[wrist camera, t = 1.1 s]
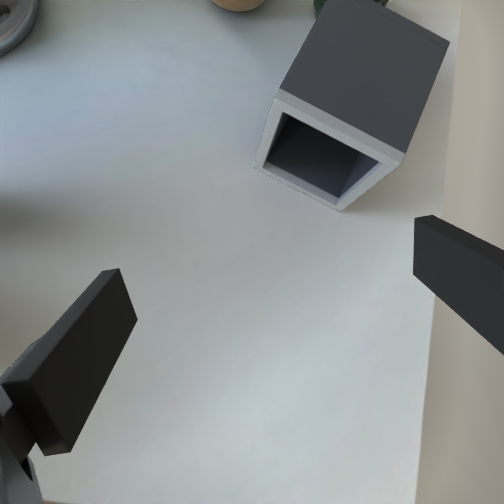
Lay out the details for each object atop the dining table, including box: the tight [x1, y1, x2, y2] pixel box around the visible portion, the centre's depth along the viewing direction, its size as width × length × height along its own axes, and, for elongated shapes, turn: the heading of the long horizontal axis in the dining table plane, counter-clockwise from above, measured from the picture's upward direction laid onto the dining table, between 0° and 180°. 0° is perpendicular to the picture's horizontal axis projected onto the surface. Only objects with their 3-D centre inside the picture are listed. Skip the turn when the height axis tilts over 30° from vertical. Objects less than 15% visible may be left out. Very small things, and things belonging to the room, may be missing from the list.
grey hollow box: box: [253, 0, 450, 212], centre depth 32 cm, size 13×11×12 cm
